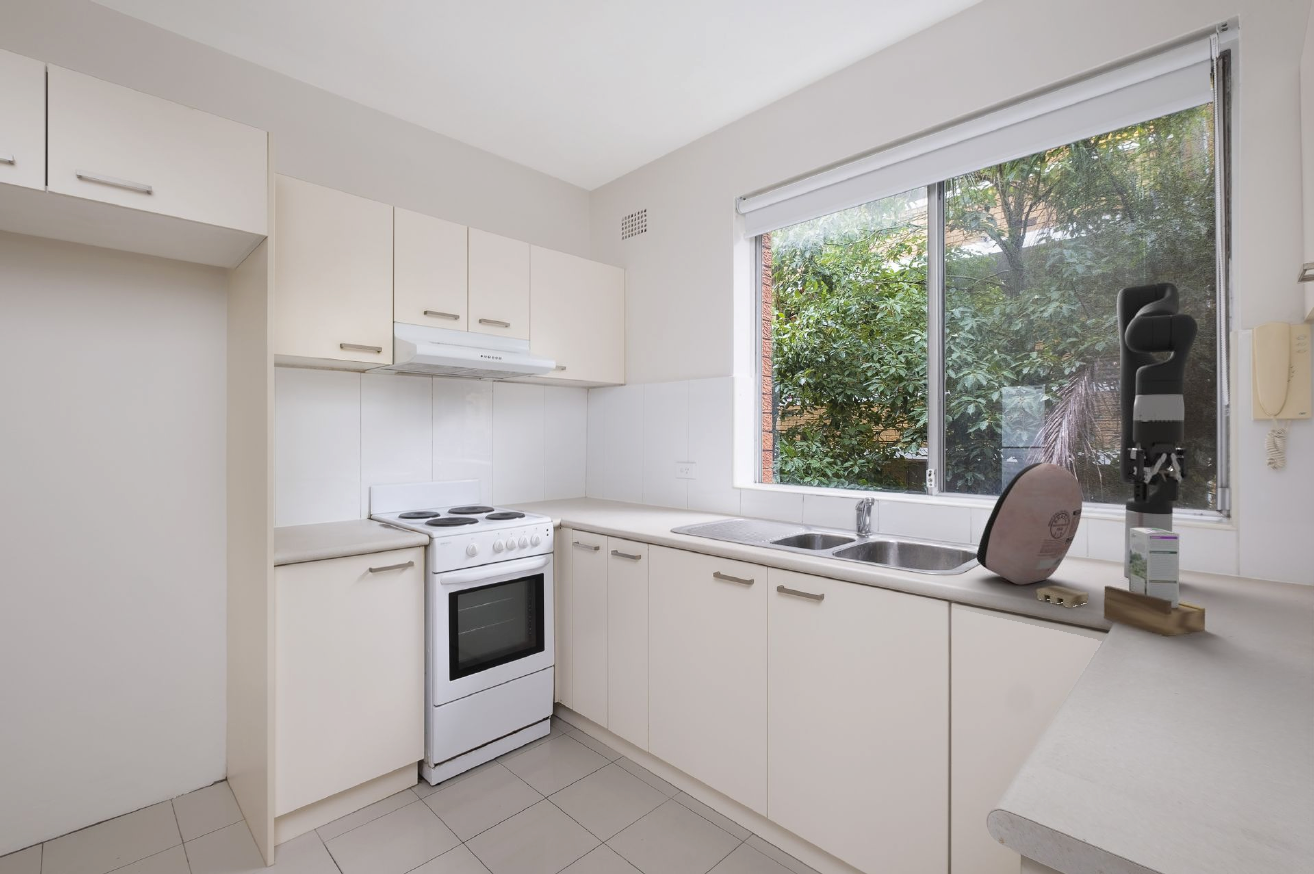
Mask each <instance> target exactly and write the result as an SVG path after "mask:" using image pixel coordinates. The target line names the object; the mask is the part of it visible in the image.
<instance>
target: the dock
mask: <svg viewBox="0 0 1314 874" xmlns="http://www.w3.org/2000/svg"><path fill="white" fill-rule="evenodd" d="M1103 596H1104V597H1103V598H1104V601H1103V603H1104V604H1103V618H1104V619H1107V620H1110V621H1113V622H1116V623H1121V624H1124V625H1128V626H1130V627H1133V628H1137V629H1141V630H1144V631H1147V632H1150V631H1151V633H1153V632H1154V634H1158V635H1160V634H1161V635H1160V636H1164V637H1171V636H1177V634H1178V635H1184V634H1190V633H1195V632H1203V631H1205V630H1206V629H1205V628H1206V626H1205V625H1206V608H1205V607H1204V606H1203V607H1202V606H1198V605H1195V604H1189V603H1187V602H1182V601H1179V607H1178V608H1171V603H1172V601H1168V600H1164V599H1160V598H1156V597H1152V596H1148V595H1144V594H1140V593H1136V592H1132V591H1129V589H1125V588H1124V589H1123V588H1120V587H1116V586H1111V585H1105V586H1104V595H1103Z"/></svg>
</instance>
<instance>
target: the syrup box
mask: <svg viewBox="0 0 1314 874" xmlns="http://www.w3.org/2000/svg"><path fill="white" fill-rule="evenodd" d="M1128 579H1129V580H1128V591H1132V592H1136V593H1140V594H1144V595H1148V596H1152V597H1156V598H1160V599H1164V600H1168V601H1172V603H1171V608H1178V607H1179V602H1180V601H1179V600H1180V599H1179V597H1180V595H1179V594H1180V593H1179V592H1180V591H1179V590H1180V584H1179V583H1180V582H1179V581H1180V533H1177V532H1173V531H1172V532H1170V531H1166V530H1162V529H1157V528H1130V562H1129V578H1128Z"/></svg>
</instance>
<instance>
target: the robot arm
mask: <svg viewBox="0 0 1314 874" xmlns="http://www.w3.org/2000/svg"><path fill="white" fill-rule="evenodd" d="M1179 310H1180V296H1179V290H1178V288H1177V286H1176V285H1175V284H1173V283H1172V282H1169V281H1168V282H1167V281H1166V282H1164V281H1163V282H1162V281H1161V282H1155V283H1147V284H1146V283H1145V284H1140V285H1139V284H1138V285H1132V286H1131V285H1130V286H1125V287H1123V288H1121V289H1120V290H1119V292H1118V294H1117V298H1116V315H1117V316H1116V317H1117V326H1118V338H1119V339H1118V340H1119V351H1120V352H1119V356H1120V357H1119V358H1120V360H1119V362H1120V365H1119V402H1120V405H1119V406H1120V419H1121V426H1120V427H1121V432H1120V450H1119V475H1120V479H1121V481H1122V482H1123V483H1125V484H1130V485H1134V486H1133V497H1132V498H1131V497H1130V498H1128V499H1127V500H1126V501H1125V518H1124V519H1125V525H1124V526H1125V529H1124V531H1125V532H1124V563H1123V564H1124V565H1123V566H1124V567H1123V576H1124V577H1126V578H1128V579H1129V562H1130V528H1157V529H1162V530H1166V531H1170V532H1173V513H1174V504H1173V503H1174V502H1177V501H1178V500H1179V489H1180V488H1179V487H1180V486H1179V484H1180V483H1181V482H1182V480H1183V479H1188V477H1189V471H1188V469H1189V468H1188V467H1189V466H1188V464H1189V463H1188V461H1189V460H1188V459H1189V457H1188V448H1186V447H1183V448H1182V447H1181V448H1180V447H1176V444H1182V443H1183V442H1184V440H1185V439H1184V438H1185V437H1184V436H1185V435H1184V434H1185V431H1184V430H1185V402H1184V375H1185V369H1186V363H1187V361H1188V358H1189V355H1190V352H1191V350H1192V347H1193V345H1194V343H1195V340H1196V337H1197V334H1198V329H1199V327H1198V324H1197V323H1198V322H1197V321H1196V319H1194V317H1192V316H1191V315H1190V314H1187V313H1183V314H1182V313H1181V314H1180V313H1179ZM1167 352H1171V353H1170V357H1169V358H1168V359H1167V360H1164V361H1161V362H1159V361H1158V360H1157V358H1156V357H1154V355H1152V354H1153V353H1167ZM1151 353H1152V354H1151ZM1137 444H1139V448H1137V447H1136V446H1137ZM1150 486H1156V489H1155V490H1154V491H1152V492H1150Z"/></svg>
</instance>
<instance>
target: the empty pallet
mask: <svg viewBox="0 0 1314 874" xmlns="http://www.w3.org/2000/svg"><path fill="white" fill-rule="evenodd" d="M1036 594H1037V598H1036V599H1041V600H1043V601H1042V602H1046V601H1045V600H1047V599H1050V600H1049V603H1050V602H1052V603H1056V604H1057V603H1061V602H1063V603H1062V606H1063V605H1064V606H1067V607H1066V608H1068V607H1069V608H1068V609H1072V608H1074V607H1073V606H1075V605H1080V606H1082V605H1081V604H1083V603H1087V604H1088V597H1089V593H1088V592H1085V591H1079V590H1075V589H1071V588H1066V587H1062V586H1058V585H1050V586H1046V587H1042V588H1037V589H1036ZM1052 603H1051V604H1052ZM1056 604H1055V605H1056ZM1064 606H1063V607H1064ZM1071 607H1072V608H1071Z"/></svg>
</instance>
